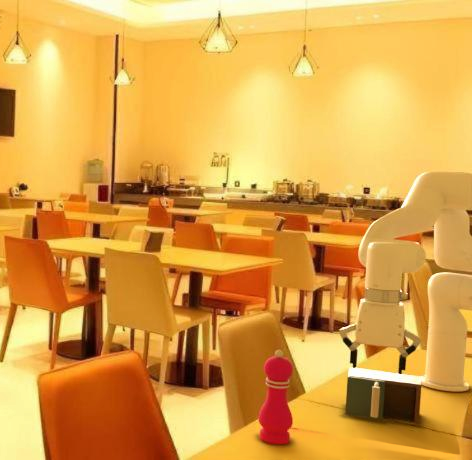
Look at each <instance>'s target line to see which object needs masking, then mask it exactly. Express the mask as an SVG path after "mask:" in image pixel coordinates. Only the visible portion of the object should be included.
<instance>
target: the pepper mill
mask: <svg viewBox="0 0 472 460" xmlns="http://www.w3.org/2000/svg"><path fill="white" fill-rule="evenodd" d="M283 356H284V352H283V350H281V349H277V350H276V351H275V352H274V356H270V357H269V358H268V359H267V360H266V361H265V363H264V366H263V371H264V374H265V375H266V376H267V377H266V378H265V385H266V386H267V393H266V398H265V401H264V403H263V405H262V406H261V408H260V410H259V412H258V420H257V421H258V423H259V425H260V426H261V428H260V430H259V438H260V440H261V441H263V442H264V443H268V444H272V445H285V444H288V443H289V442H290V439H291V438H290V436H291V433H290V432H289V430H290V429H291V428H292V427H293V424H294V422H293V415H292V411H291V408H290V406H289V403H288V400H287V393H288V389H289V388H290V379H289V378H290V377H291V376H292V375H293V373H294V370H293V369H294V368H293V363H292V362H291V360H289V359H288V358H286V357H283Z"/></svg>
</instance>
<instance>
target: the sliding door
mask: <svg viewBox="0 0 472 460" xmlns="http://www.w3.org/2000/svg"><path fill="white" fill-rule="evenodd" d="M384 387H385V381H382V380H375V379H367V378H360V377H352V376H348V375H347V379H346V393H345V394H346V395H345V396H346V397H345V409H344V410H345V411H344V414H345V415H349V416H356V417H363V418H369V419H375V420H381V421H382V420H383V418H382V417H383V402H384Z"/></svg>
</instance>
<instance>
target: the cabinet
mask: <svg viewBox="0 0 472 460" xmlns="http://www.w3.org/2000/svg"><path fill="white" fill-rule="evenodd" d="M348 376H352V377H360V378H367V379H375V380H382V381H385V387H384V402H383V417H382V419H385V420H392V421H393V420H394V421H398V422H399V421H400V422H407V423H412V424H420V413H421V411H420V410H421V398H422V386H423V385H422V384H421V376H422V375H412V374H406V373H402V375H401V374H398V372H388V371H382V370H375V369H367V368H358V367H356V368H353V367H349V370H348V374H347V377H348Z"/></svg>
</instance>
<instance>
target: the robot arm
mask: <svg viewBox="0 0 472 460" xmlns="http://www.w3.org/2000/svg"><path fill="white" fill-rule="evenodd" d="M467 211H472V172H471V173H470V172H464V171H463V172H461V171H425V172H424V173H421V174H420V175H418V177H417V178H416V179H415V180H414V182H413V184H412V186H411V188H410V190H409V192H408V194H407V196H406V197H405V200H404V201H403V203H402V205H401V206H400V207H399V208H397V209H395V210H392V211H391V212H388V213H387V214H385V215H383V216H382V217H379V218H378V219H377V220H375V221H374V222H372V224H370V226H369V227H368V229H367V230H366V232H365V234H364V235H363V238H362V240H361V242H360V244H359V247H358V252H357V253H358V254H357V257H358V261H359V263H360V264H361V265H362V266H363V267H364V268H365V278H364V279H365V281H364V282H365V283H364V293H363V295H364V296H363V298H361V299H360V301H359V304H358V310H357V316H356V323H353V324H350V325H348V326H345V327H342V328H340V329H338V333H339V335H340V338H341V340H342V342H343V343H344V344H345V346H346V347H347V348H348V349H349V351H350V352H349V353H350V354H349V364H352V368H357V364H358V351H359V350H358V347H359V346H361V345H367V346H375V347H381V348H392V349H396V350H397V351H398V352H399V357H398V371H397V373H398V374H401V375H402V374H403V371H406V368H407V367H406V366H407V358H408V356H410V355H411V354H412V353H414V352H415V351H416V350H417V349H418V347H419V346H420V344H421V343H422V338H421V337H420V336H418V335H416V334H415V333H413V332H412V331H410V330H408V329H406V328H405V318H406V317H405V306H404V303H402V302H401V301H402V300H403V301H404V300H408V295H409V294H408V293H405V292H403V291H402V278H403V277H402V276H403V274H414V273H416V272H418V271H420V270H421V269H423V266H424V265H425V263H426V260H427V259H426V257H427V256H426V251H425V248H424V246H422V245H421V244H420V243H419V242H417V241H412V240H405V239H398V238H401V237H407V236H412V235H417V234H420V233H423V232H426V231H429V230H431V229H432V228H433V257H434V262H435V264H436V265H437V266H438V267H439V268H442V269H446V270H451V271H460V272H461V271H462V272H469V273H472V235H471V232H470V221H471V220H470V216H469V213H468V212H467ZM427 297H428V308H429V309H428V310H429V311H428V316H429V317H428V329H427V330H428V331H427V344H426V355H425V356H426V358H425V359H426V360H425V373H424V375H420V376H421V385H422V386H424V387H426V388H430V389H433V390H438V391H444V392H453V393H454V392H456V393H457V392H458V393H459V392H460V393H461V392H467V391H469V390H470V384H469V382H467V381H465V380H464V378H465V365H466V352H467V351H466V350H467V337H468V323H467V320H466V317H464V314H462V312H461V311H460V310H465V311H471V312H472V274H465V273H458V272H457V273H456V272H445V271H444V272H438V273H435V274H433V275H431V277H430V278H429V280H428V282H427ZM352 332H355V333H354V334H355V340H353V341H352V340H351V339H350V338H349V336H348V333H352ZM405 337H406V338H408V339H410V341H412V343H411V344H410V345H409V346H408V347H405V345H404V341H405Z"/></svg>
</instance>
